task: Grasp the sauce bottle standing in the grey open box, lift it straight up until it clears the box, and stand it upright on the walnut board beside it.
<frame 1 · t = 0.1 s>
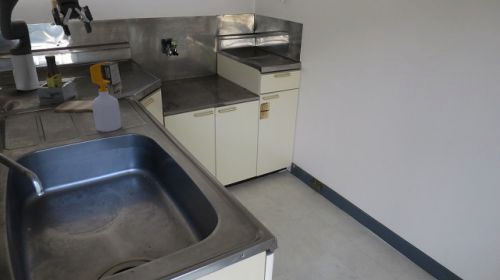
hand: (79, 34, 148), 31 cm above the counter, tool tilted 20°, fingers open, 8 cm apart
sauce bottle: (58, 99, 176), resting in grey open box
grey open box: (58, 99, 176), on the counter
coffee box: (112, 97, 179), on the counter
walnut board: (79, 107, 166), on the counter
spray bottle: (109, 128, 143), on the counter
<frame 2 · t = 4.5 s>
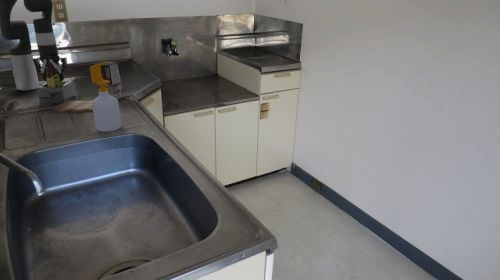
hand: (54, 80, 173), 9 cm above the counter, tool pointing down, fingers closed on sauce bottle, 6 cm apart
sauce bottle: (58, 99, 176), resting in grey open box, touching gripper
everything else where it was.
when the fingers open (10 cm above the counter, at t = 11.5 s): sauce bottle stays where it is, resting on walnut board.
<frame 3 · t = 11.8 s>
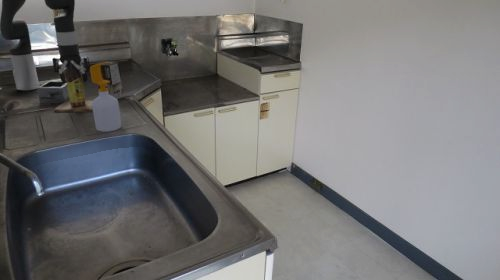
hand: (74, 82, 161), 11 cm above the counter, tool pointing down, fingers open, 8 cm apart
sauce bottle: (78, 105, 165), point 1 cm above the counter, touching walnut board
everything else where it was.
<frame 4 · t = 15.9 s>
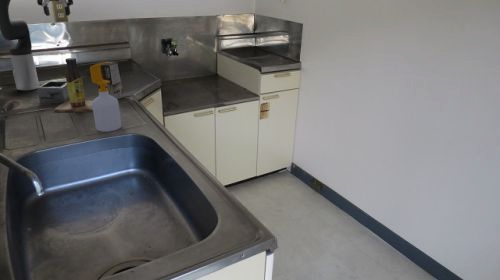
hand: (57, 15, 168), 36 cm above the counter, tool pointing down, fingers open, 8 cm apart
nothing on the counter moved.
at the end: sauce bottle inside the target area on the walnut board (0.2 cm from its centre), point 0.8 cm above the walnut board's base; sauce bottle tilted 0°; the gripper is holding nothing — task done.
